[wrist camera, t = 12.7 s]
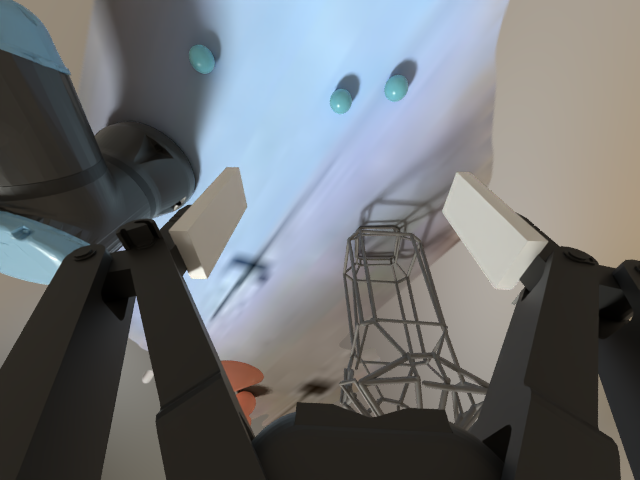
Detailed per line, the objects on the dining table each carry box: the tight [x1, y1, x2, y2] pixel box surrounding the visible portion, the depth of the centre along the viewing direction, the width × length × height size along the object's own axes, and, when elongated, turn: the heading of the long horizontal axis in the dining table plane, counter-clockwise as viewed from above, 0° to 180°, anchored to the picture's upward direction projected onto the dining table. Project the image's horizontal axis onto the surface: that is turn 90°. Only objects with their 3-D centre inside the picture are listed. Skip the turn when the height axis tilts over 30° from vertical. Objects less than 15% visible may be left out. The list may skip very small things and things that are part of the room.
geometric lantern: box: [339, 227, 489, 432], centre depth 36 cm, size 16×16×35 cm
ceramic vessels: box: [221, 361, 264, 425], centre depth 89 cm, size 35×21×19 cm, turn 0°
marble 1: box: [189, 45, 215, 74], centre depth 31 cm, size 3×3×3 cm
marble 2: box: [330, 89, 352, 114], centre depth 33 cm, size 3×3×3 cm
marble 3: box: [384, 75, 408, 102], centre depth 32 cm, size 3×3×3 cm
